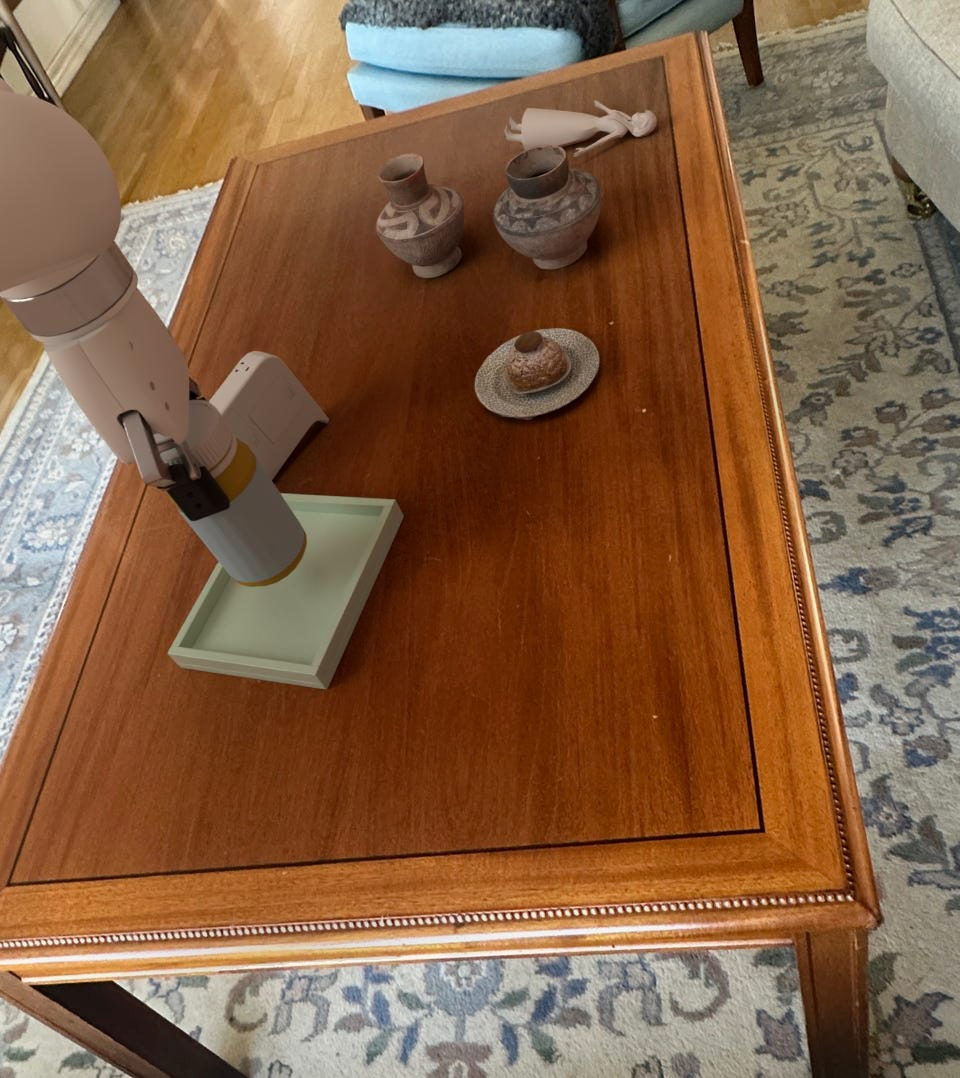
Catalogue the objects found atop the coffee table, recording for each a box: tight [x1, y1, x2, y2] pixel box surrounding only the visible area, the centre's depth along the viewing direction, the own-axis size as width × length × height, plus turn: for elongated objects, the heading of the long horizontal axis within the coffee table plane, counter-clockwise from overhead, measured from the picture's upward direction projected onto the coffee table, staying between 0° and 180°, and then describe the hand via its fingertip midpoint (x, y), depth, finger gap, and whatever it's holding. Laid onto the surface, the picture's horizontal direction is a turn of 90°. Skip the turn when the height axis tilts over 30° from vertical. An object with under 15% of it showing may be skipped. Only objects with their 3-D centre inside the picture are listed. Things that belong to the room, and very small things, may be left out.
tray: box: [166, 492, 405, 690], centre depth 84 cm, size 18×15×2 cm
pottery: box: [375, 145, 602, 279], centre depth 102 cm, size 11×25×12 cm, turn 74°
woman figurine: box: [504, 100, 657, 158], centre depth 116 cm, size 12×4×18 cm
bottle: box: [154, 400, 307, 587], centre depth 75 cm, size 7×7×15 cm
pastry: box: [474, 327, 600, 421], centre depth 91 cm, size 12×12×5 cm
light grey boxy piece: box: [208, 350, 330, 481], centre depth 92 cm, size 11×3×15 cm
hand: (210, 475), depth 73 cm, fingers closed on bottle, 7 cm apart
